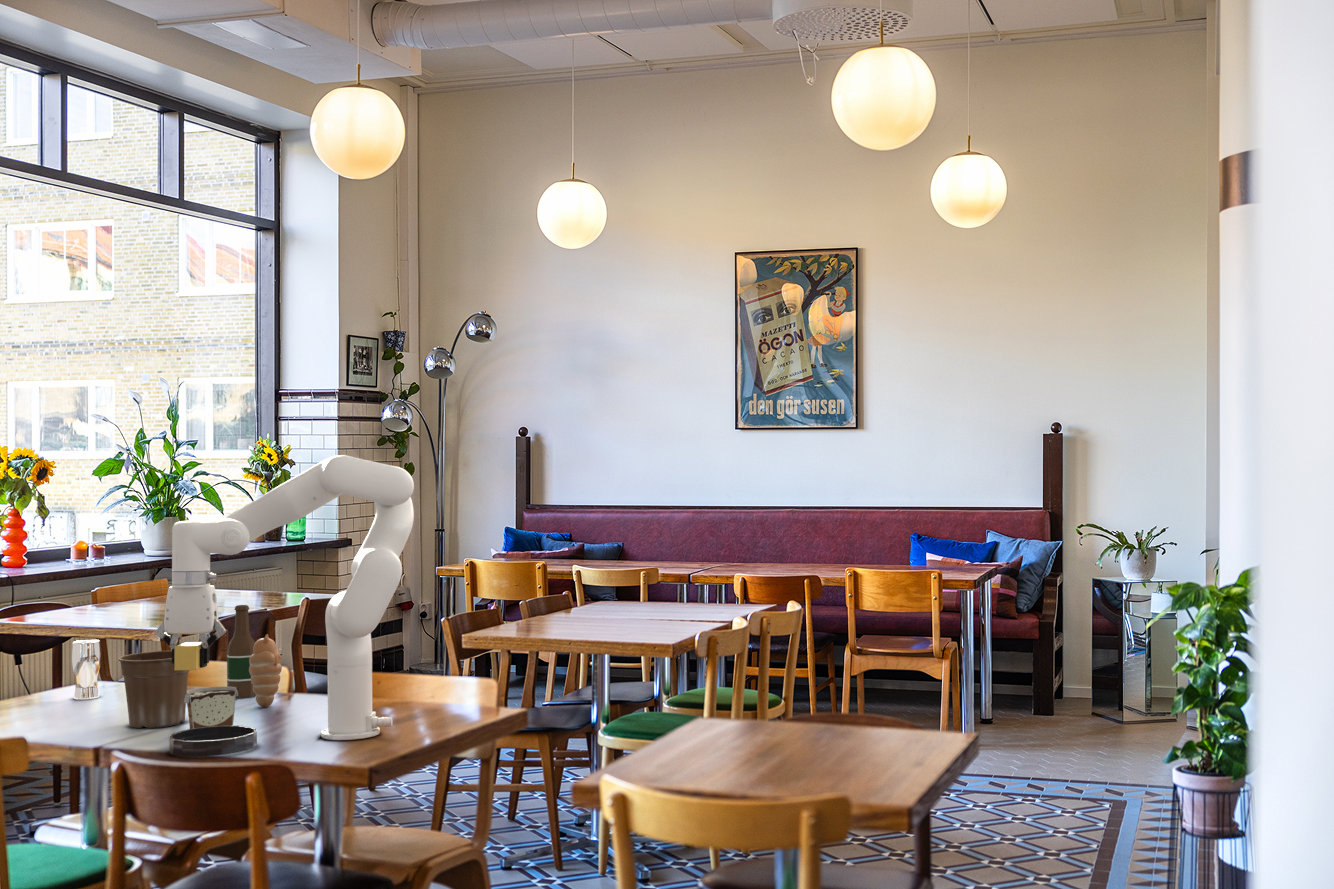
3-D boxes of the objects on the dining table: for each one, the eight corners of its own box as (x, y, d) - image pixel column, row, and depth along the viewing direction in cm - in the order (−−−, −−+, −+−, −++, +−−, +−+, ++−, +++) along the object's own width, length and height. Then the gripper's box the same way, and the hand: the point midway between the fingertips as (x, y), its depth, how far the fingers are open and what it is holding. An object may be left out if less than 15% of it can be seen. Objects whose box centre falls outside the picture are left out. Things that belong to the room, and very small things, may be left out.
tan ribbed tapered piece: (281, 709, 315) (280, 636, 316) (247, 711, 313) (247, 637, 314) (282, 703, 324) (282, 632, 325) (250, 705, 322) (250, 633, 323)
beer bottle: (230, 694, 340) (230, 604, 341) (260, 693, 341) (260, 603, 342) (223, 699, 333) (223, 607, 334) (254, 698, 334) (253, 606, 334)
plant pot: (138, 733, 286) (137, 661, 287) (106, 725, 297) (106, 656, 298) (206, 722, 298) (205, 653, 299) (173, 715, 309) (173, 648, 310)
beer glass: (82, 695, 343) (81, 639, 343) (106, 695, 342) (105, 639, 342) (66, 700, 336) (66, 643, 336) (90, 700, 335) (90, 643, 335)
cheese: (206, 665, 270) (206, 641, 270) (196, 670, 263) (196, 645, 263) (185, 665, 270) (185, 642, 270) (174, 670, 263) (174, 646, 263)
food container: (223, 728, 290) (223, 684, 291) (238, 731, 286) (238, 686, 287) (173, 737, 281) (172, 691, 281) (187, 740, 277) (187, 694, 277)
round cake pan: (266, 740, 275) (265, 724, 275) (243, 757, 258) (243, 740, 258) (185, 743, 274) (184, 726, 274) (157, 759, 257) (157, 742, 257)
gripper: (237, 578, 271) (236, 664, 270) (156, 579, 270) (155, 665, 269) (227, 580, 264) (226, 668, 263) (143, 581, 263) (143, 670, 262)
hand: (190, 666), depth 266 cm, fingers closed on cheese, 4 cm apart
